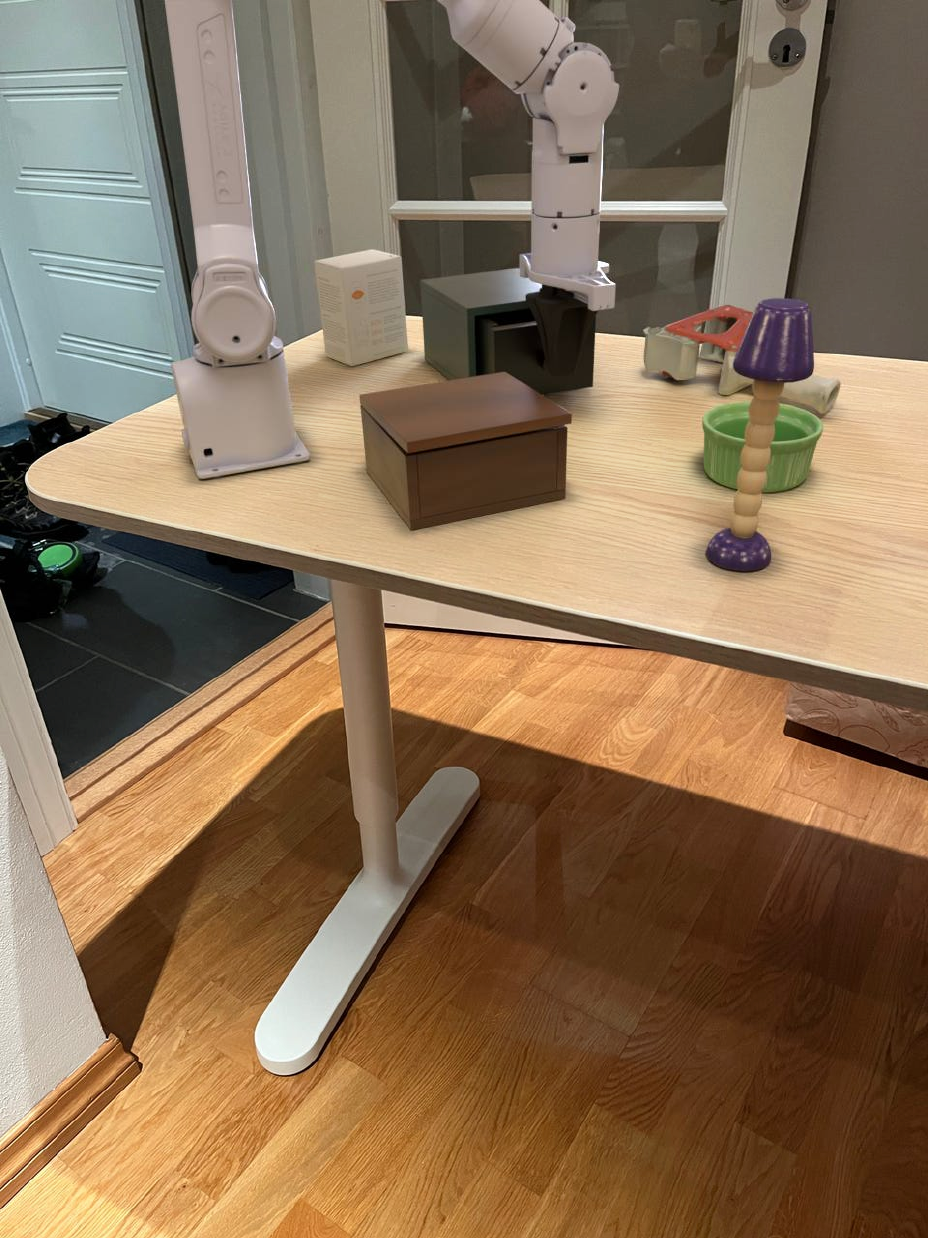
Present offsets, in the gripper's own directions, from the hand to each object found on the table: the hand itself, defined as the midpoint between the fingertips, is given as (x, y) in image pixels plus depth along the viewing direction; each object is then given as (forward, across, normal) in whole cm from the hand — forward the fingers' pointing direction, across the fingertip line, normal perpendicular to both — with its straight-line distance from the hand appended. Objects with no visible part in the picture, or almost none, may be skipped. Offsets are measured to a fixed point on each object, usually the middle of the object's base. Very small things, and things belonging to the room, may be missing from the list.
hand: (561, 373), depth 83 cm
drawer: (+3, +9, 0) cm, 10 cm away
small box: (+4, +27, +11) cm, 30 cm away
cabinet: (+4, +15, 0) cm, 16 cm away
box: (+4, -11, +14) cm, 18 cm away
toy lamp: (+4, -30, +1) cm, 30 cm away
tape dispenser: (+4, 0, -19) cm, 19 cm away
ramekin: (+4, -19, -8) cm, 21 cm away
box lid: (-2, -11, +14) cm, 18 cm away
